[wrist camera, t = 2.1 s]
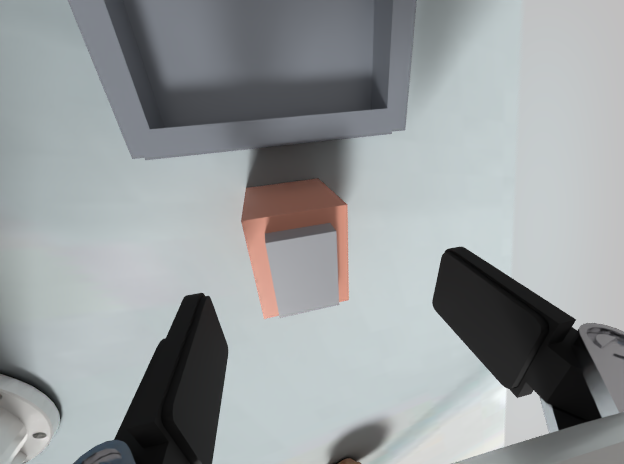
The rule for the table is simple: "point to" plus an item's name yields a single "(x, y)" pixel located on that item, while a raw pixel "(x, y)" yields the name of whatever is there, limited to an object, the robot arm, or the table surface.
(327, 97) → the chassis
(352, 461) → the cupcake
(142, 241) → the table surface
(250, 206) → the pink and grey block
